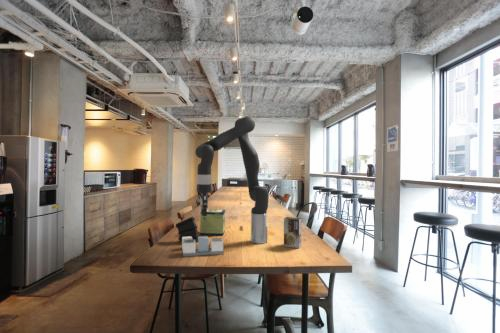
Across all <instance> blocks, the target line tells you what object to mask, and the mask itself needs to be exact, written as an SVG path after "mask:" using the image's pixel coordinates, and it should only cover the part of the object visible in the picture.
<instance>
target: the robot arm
mask: <svg viewBox="0 0 500 333" xmlns="http://www.w3.org/2000/svg"><path fill="white" fill-rule="evenodd" d="M255 126H256V124H255V120H254V119H253V118H252V117H250V116H244V117H241V118H238V119H236V120H235V122H234V127H231V128H230V129H228V130H225V131H223V132H221V133H219V134H218V135H216V136H214V137H213V138H212V139H210V140H208V141H205V142H203V143H201V144H200V145H198V146H196V149H195V152H194V153H195V156H196V157H197V158H199V159H200V163H198V164H197V172H196V173H197V175H196V176H197V177H196V193H198V194H200V196H199V200H200V201H199V203H200V206H201V209H200V210H201V211H200V214H201V213H202V216H207V209H208V207H209V206H208V205H209V196H208V194H209V193H210V194H211V193H212V185H213V184H212V180H213V179H212V165H213V161H214V156H215V152H218V151H220V150H221V149H223V148H225V146H228V145H229V144H230V143H232V142H233V141H235V140H236V139H237V140H238V144H239V147H240V151H241V157H242V162H243V165H244V169H245V175H246V180H247V187H248V188H247V189H248V195H249V198H250V200H252V201H253V202H254V206H253V207H251V212H250V213H251V214H250V220H251V221H250V242H251V243H252V244H258V245H259V244H265V243H268V225H267V210H269V208H268V207H269V196H270V195H269V190H268V189H267V188H266V187H265V186H260V181H259V171H260V160H259V155H258V152H257V150H256V149H255V148H254V146H253V145H252V143H251V140H250V138H249V133H251V132H253V131H254V130H255Z"/></svg>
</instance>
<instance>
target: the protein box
mask: <svg viewBox="0 0 500 333" xmlns="http://www.w3.org/2000/svg"><path fill="white" fill-rule="evenodd" d="M199 216H200V217H199V218H200V220H199V222H200V224H199V227H200V228H199V236H223V237H224V234H225V233H226V230H225V228H226V209H208V208H207V216H202V213H201V212H200V215H199Z"/></svg>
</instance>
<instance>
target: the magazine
mask: <svg viewBox="0 0 500 333" xmlns="http://www.w3.org/2000/svg"><path fill="white" fill-rule="evenodd" d="M195 219H196V218H195V217H193V216H191V217H188V218H186V219H184V220H181V221H180V222H179V221H178V222H177V223H176V224H175V228H177V231H178V232H177V235H178V236H179V237H178V242H179V243H182V237H188V236H191V237H192V238H193V239H195V242H196V244H198V237H200V235H199V232H198V225H197V223H196V221H195Z"/></svg>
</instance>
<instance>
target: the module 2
mask: <svg viewBox="0 0 500 333" xmlns="http://www.w3.org/2000/svg"><path fill="white" fill-rule="evenodd" d="M208 248H209V235H200V236H199V237H198V242H197V249H198V252H205V251H208Z"/></svg>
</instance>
